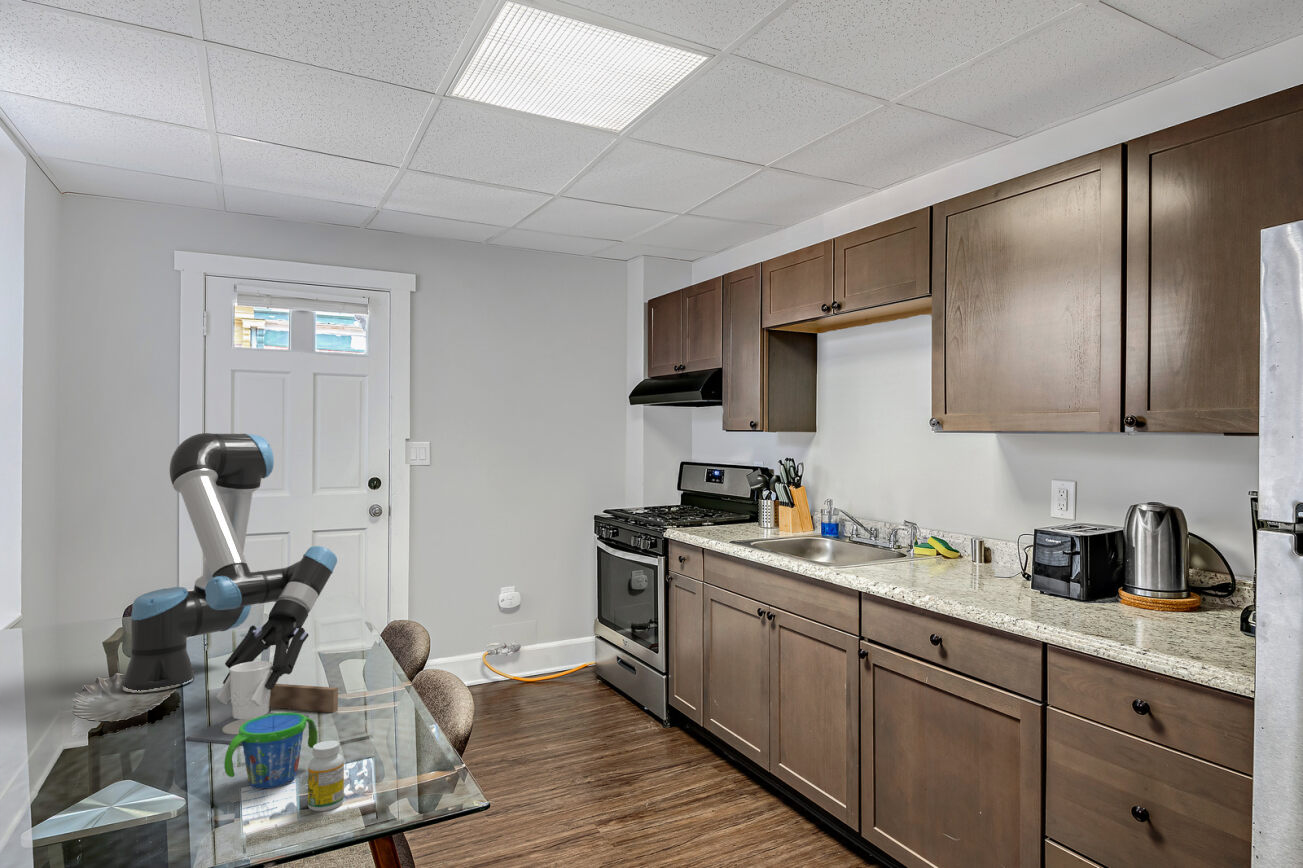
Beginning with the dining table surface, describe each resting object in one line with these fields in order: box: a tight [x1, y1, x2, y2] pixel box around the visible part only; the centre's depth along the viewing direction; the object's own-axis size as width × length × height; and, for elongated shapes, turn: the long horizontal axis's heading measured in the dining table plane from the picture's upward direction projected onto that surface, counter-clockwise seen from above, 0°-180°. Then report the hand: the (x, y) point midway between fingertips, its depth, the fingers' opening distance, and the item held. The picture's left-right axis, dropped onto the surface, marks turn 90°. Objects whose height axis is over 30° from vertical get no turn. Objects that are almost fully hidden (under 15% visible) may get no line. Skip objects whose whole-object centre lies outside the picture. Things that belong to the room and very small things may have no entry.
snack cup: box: [223, 711, 319, 789], centre depth 130 cm, size 16×10×10 cm
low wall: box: [269, 683, 339, 713], centre depth 168 cm, size 22×2×5 cm, turn 77°
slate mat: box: [185, 711, 310, 746], centre depth 155 cm, size 16×16×1 cm
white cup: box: [229, 660, 273, 719], centre depth 155 cm, size 8×8×10 cm
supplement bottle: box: [307, 740, 345, 812], centre depth 120 cm, size 5×5×10 cm
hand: (238, 701), depth 152 cm, fingers closed on white cup, 8 cm apart
